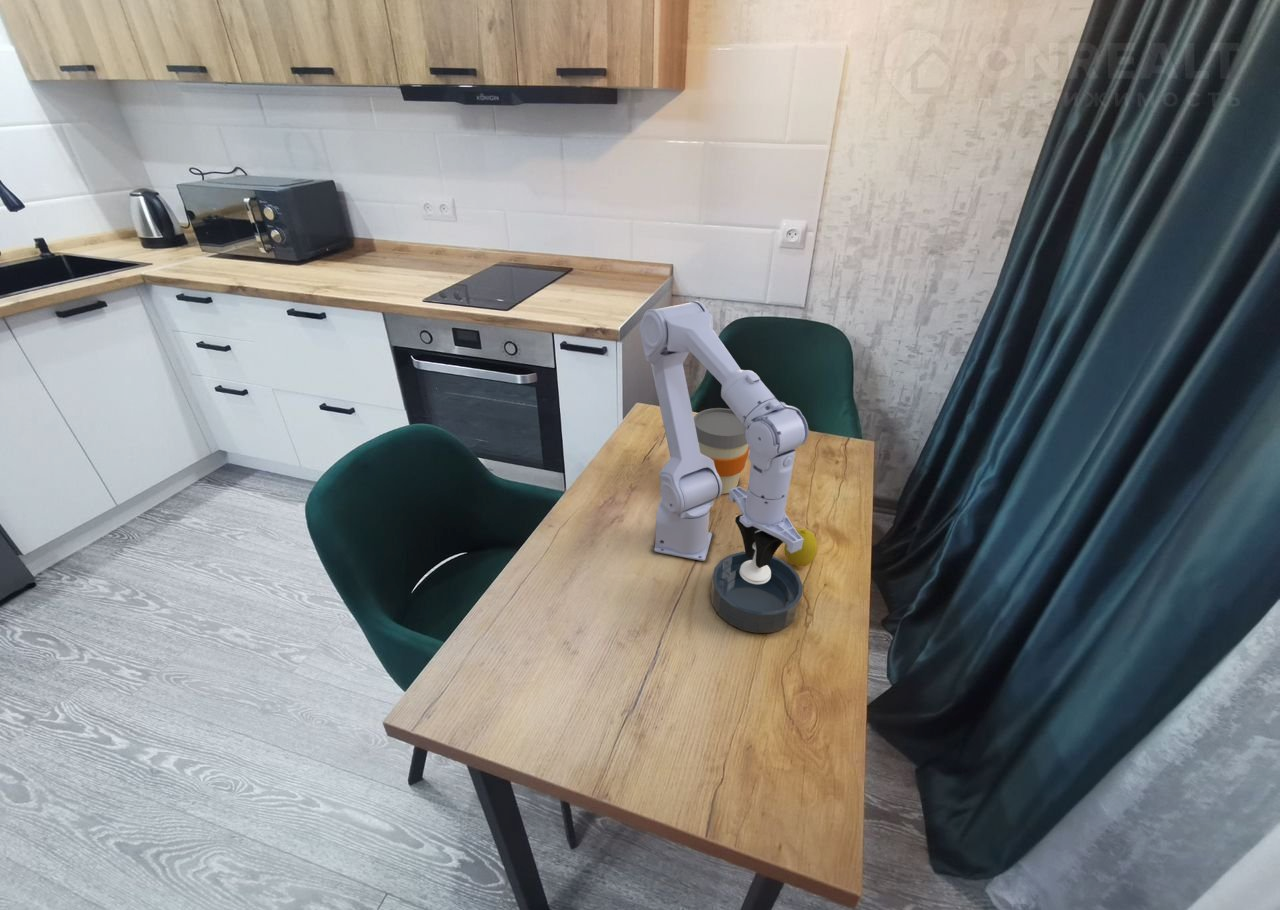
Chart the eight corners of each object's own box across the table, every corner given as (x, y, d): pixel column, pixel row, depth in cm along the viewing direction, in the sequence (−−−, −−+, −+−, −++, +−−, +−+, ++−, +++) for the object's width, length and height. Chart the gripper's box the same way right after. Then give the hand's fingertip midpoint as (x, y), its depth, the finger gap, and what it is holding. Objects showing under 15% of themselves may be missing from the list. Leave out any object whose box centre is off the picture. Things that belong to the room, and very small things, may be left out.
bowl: (703, 624, 89) (705, 603, 87) (718, 564, 101) (720, 544, 98) (796, 644, 86) (800, 623, 83) (799, 580, 97) (803, 560, 95)
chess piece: (751, 588, 87) (759, 538, 81) (733, 568, 90) (739, 519, 85) (777, 578, 88) (786, 528, 83) (758, 559, 92) (765, 510, 87)
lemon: (814, 578, 98) (822, 542, 94) (781, 573, 99) (788, 538, 95) (812, 556, 103) (820, 522, 98) (781, 552, 103) (787, 518, 99)
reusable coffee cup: (754, 477, 125) (763, 417, 117) (731, 506, 115) (738, 442, 108) (704, 460, 130) (708, 402, 122) (677, 486, 121) (680, 425, 113)
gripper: (715, 471, 84) (709, 540, 92) (780, 524, 74) (767, 598, 81) (753, 459, 87) (743, 527, 95) (820, 508, 77) (804, 582, 84)
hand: (757, 559), depth 88 cm, fingers closed on chess piece
